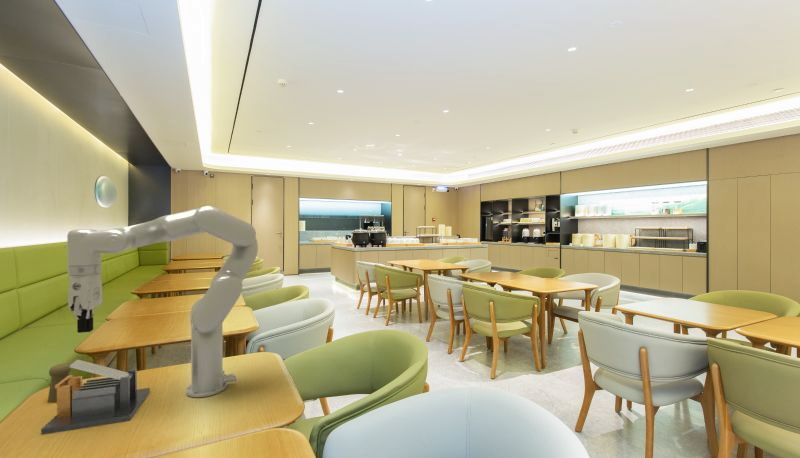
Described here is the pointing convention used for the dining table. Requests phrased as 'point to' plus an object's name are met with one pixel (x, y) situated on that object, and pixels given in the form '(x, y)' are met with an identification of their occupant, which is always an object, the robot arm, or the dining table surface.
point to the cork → (57, 379)
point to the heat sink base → (105, 418)
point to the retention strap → (99, 370)
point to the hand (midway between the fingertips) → (85, 331)
